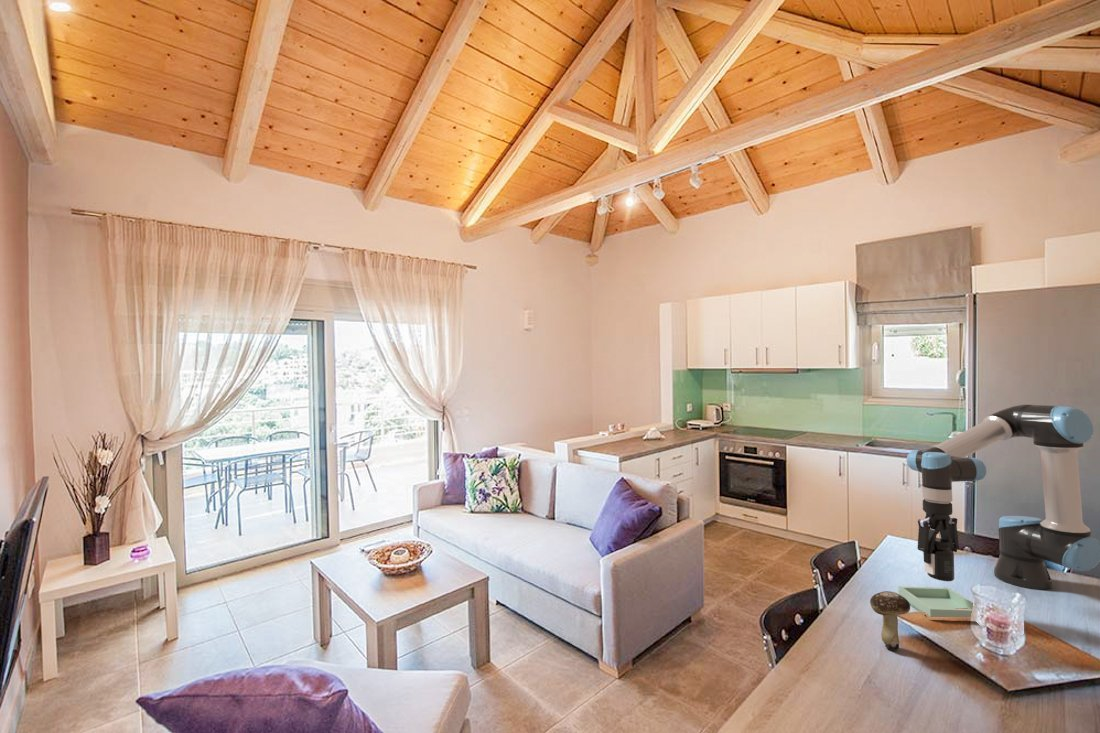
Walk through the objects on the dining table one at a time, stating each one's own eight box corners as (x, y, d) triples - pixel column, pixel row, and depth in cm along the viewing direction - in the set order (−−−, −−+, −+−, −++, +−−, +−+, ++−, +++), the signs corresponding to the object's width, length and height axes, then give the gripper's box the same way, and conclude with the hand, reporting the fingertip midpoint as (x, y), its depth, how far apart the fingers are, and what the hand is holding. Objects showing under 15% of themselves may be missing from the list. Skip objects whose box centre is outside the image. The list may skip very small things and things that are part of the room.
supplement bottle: (921, 572, 158) (921, 536, 158) (943, 573, 158) (942, 536, 158) (938, 581, 151) (937, 543, 152) (960, 581, 151) (959, 543, 151)
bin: (949, 598, 162) (948, 588, 162) (987, 622, 146) (986, 611, 146) (898, 596, 164) (898, 586, 164) (930, 620, 148) (930, 609, 148)
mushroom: (905, 643, 136) (903, 589, 136) (917, 660, 128) (915, 603, 128) (866, 637, 139) (865, 585, 139) (875, 654, 131) (874, 598, 131)
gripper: (948, 495, 162) (950, 564, 161) (901, 499, 157) (903, 570, 156) (972, 501, 154) (974, 573, 154) (924, 505, 150) (926, 579, 149)
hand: (938, 571), depth 155 cm, fingers closed on supplement bottle, 7 cm apart
